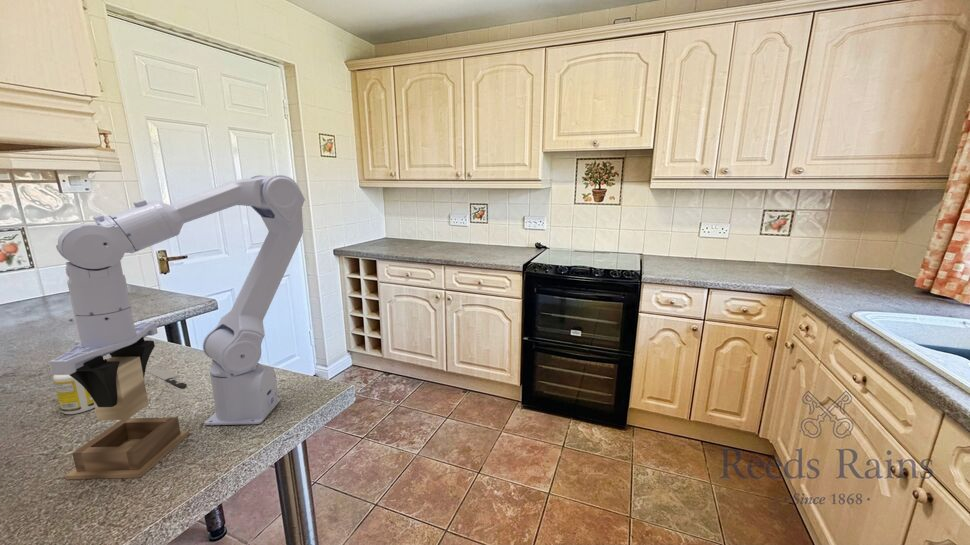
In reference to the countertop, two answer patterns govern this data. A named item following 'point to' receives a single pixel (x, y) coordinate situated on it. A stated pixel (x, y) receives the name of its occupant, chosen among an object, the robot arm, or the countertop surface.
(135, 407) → the peg
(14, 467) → the countertop surface
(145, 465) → the wooden peg socket
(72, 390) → the supplement bottle
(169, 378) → the chef's knife
